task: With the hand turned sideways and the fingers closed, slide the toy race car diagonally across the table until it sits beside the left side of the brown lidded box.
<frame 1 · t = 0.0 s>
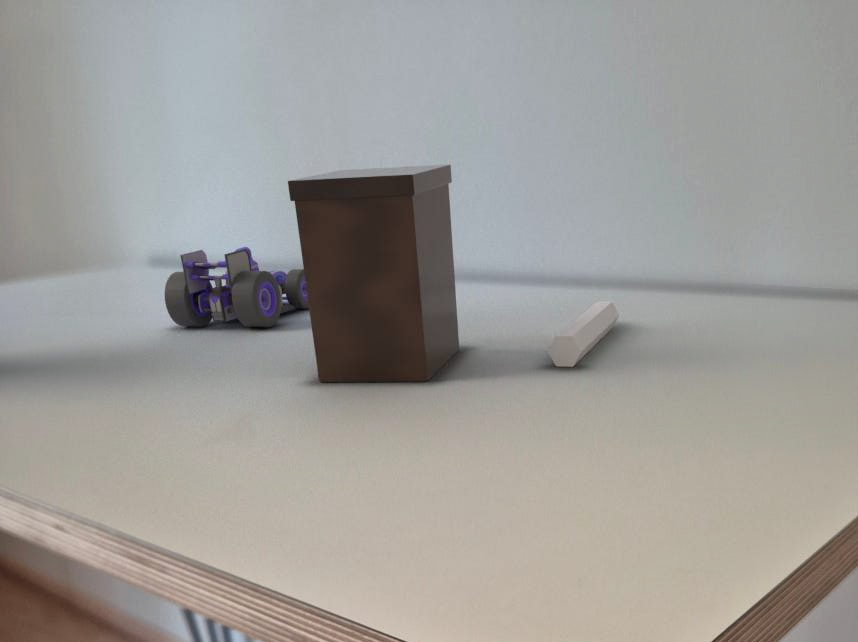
brown lidded box: (392, 365, 72), on the table
grey hexagonal bar: (590, 344, 75), on the table
toy race car: (256, 317, 94), on the table
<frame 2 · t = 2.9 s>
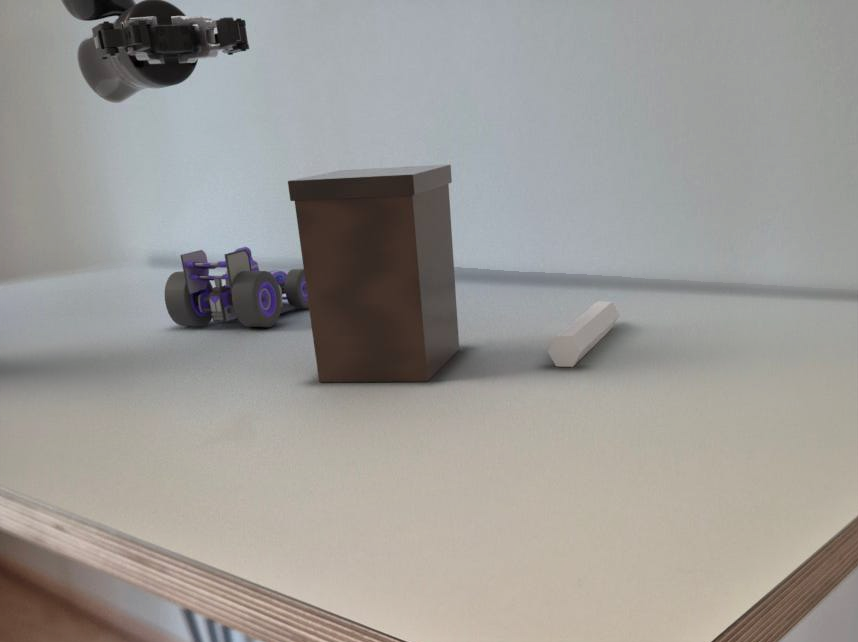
hand: (189, 32, 88), 24 cm above the table, tool horizontal, fingers open, 7 cm apart
nothing on the table moved.
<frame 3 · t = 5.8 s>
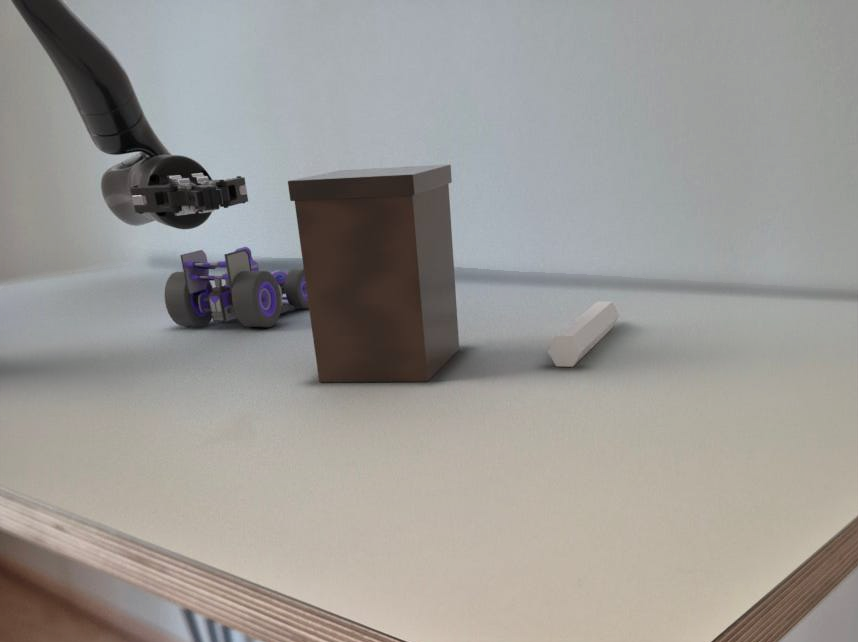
hand: (211, 198, 97), 10 cm above the table, tool horizontal, fingers closed
nothing on the table moved.
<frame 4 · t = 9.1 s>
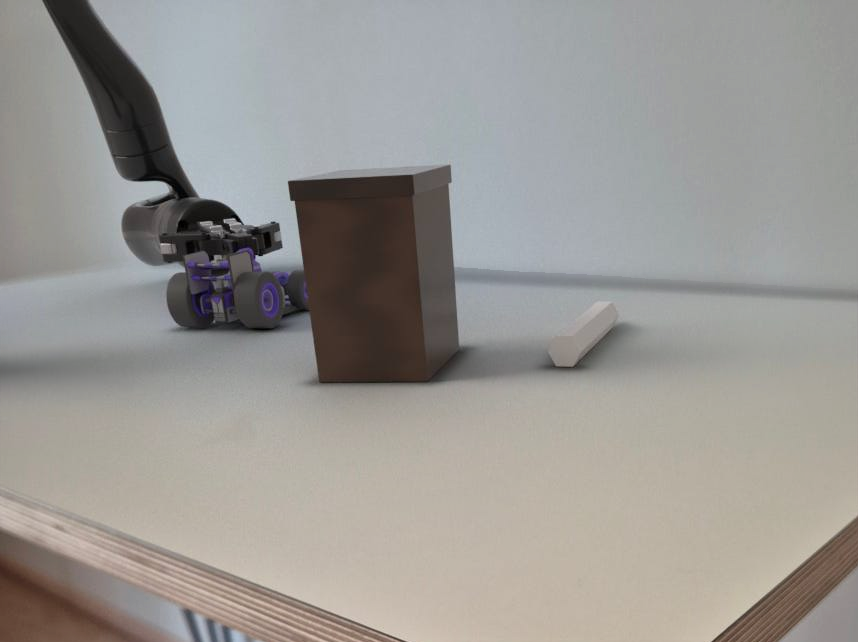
hand: (247, 248, 90), 6 cm above the table, tool horizontal, fingers closed
nothing on the table moved.
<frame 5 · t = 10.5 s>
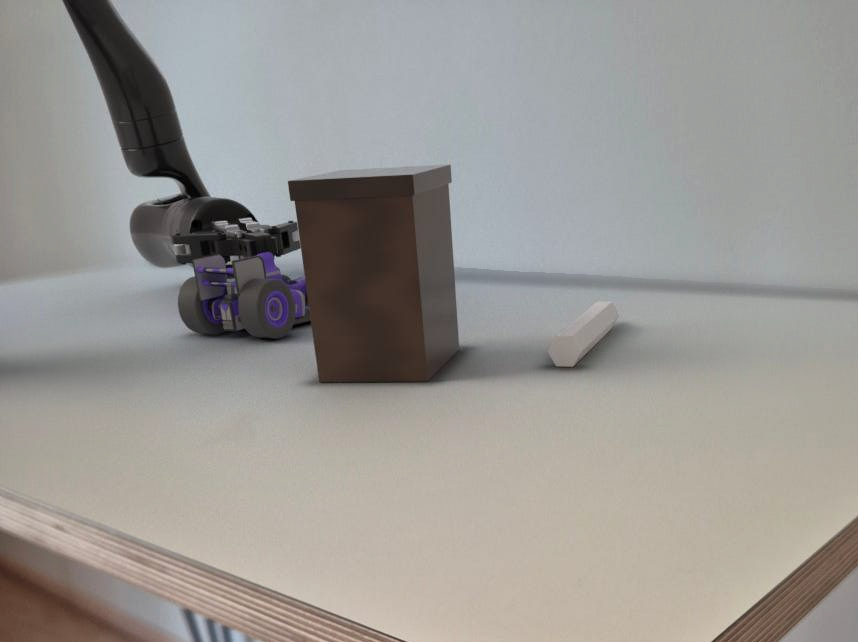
hand: (265, 248, 86), 7 cm above the table, tool horizontal, fingers closed
toy race car: (279, 326, 89), on the table, touching gripper
everything else where it was.
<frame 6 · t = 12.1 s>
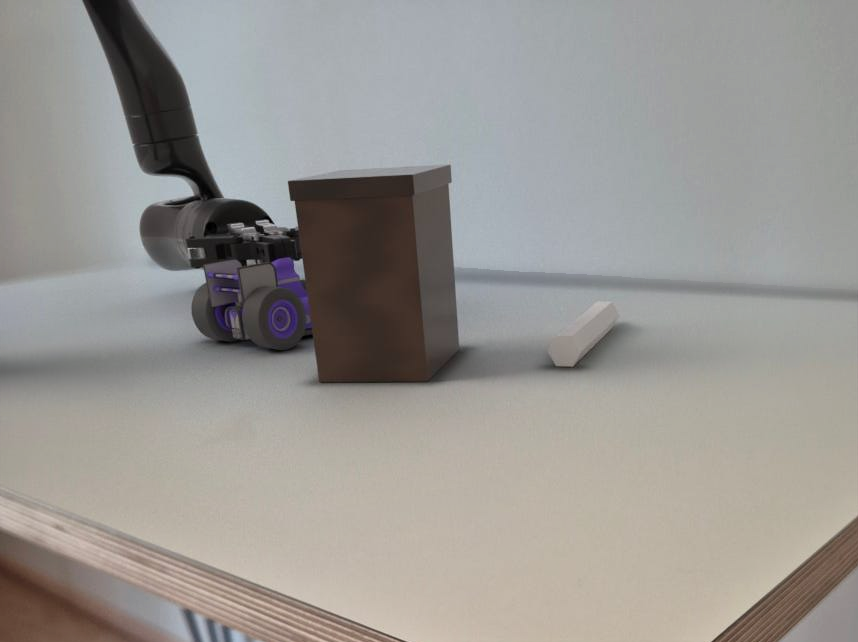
hand: (284, 251, 82), 7 cm above the table, tool horizontal, fingers closed
toy race car: (299, 335, 85), on the table, touching gripper
everything else where it was.
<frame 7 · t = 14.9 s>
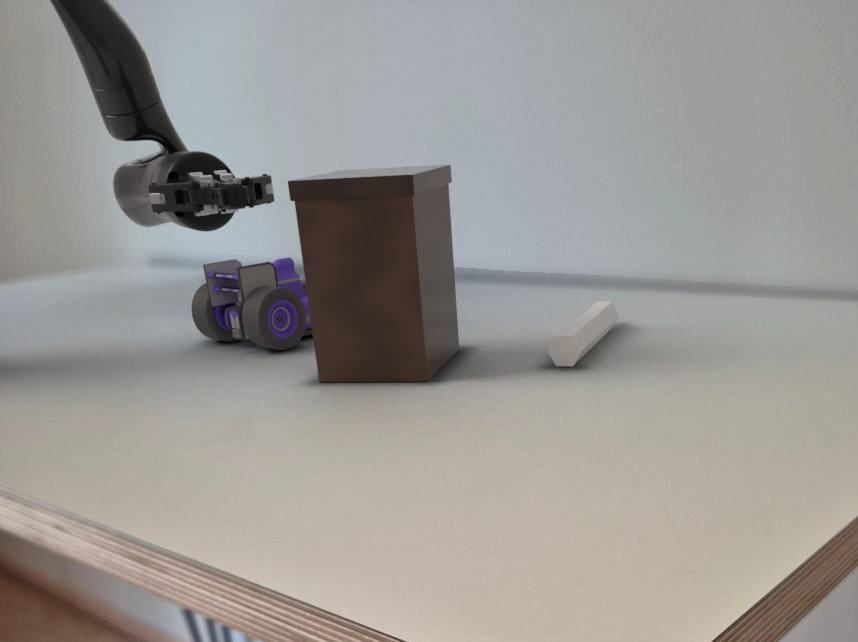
hand: (236, 196, 89), 11 cm above the table, tool horizontal, fingers closed
toy race car: (300, 335, 85), on the table
everything else where it was.
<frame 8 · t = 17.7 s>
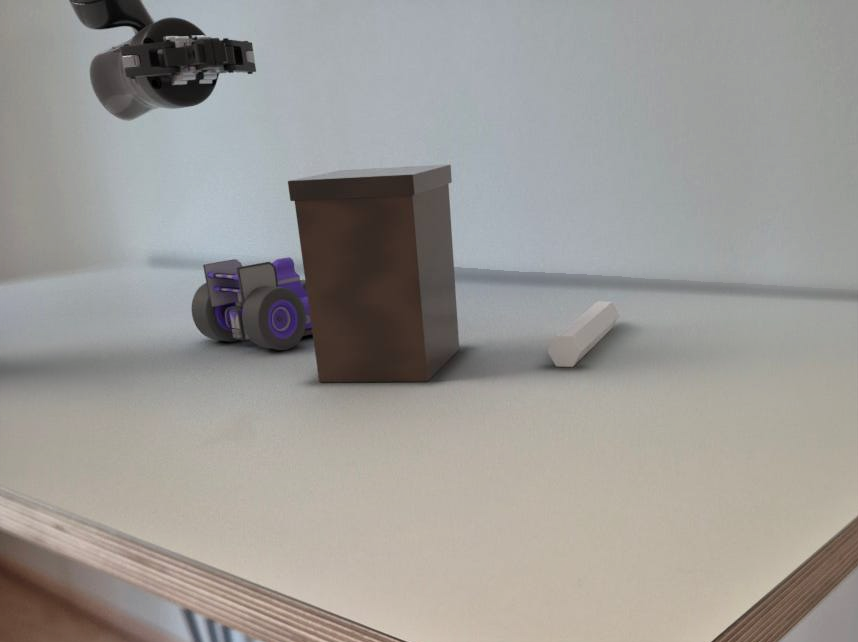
hand: (214, 52, 83), 22 cm above the table, tool horizontal, fingers closed
nothing on the table moved.
at the end: toy race car inside the target area on the table beside the brown lidded box (1.1 cm from its centre), on the table; toy race car moved 11.7 cm from its start; toy race car tilted 0° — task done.
